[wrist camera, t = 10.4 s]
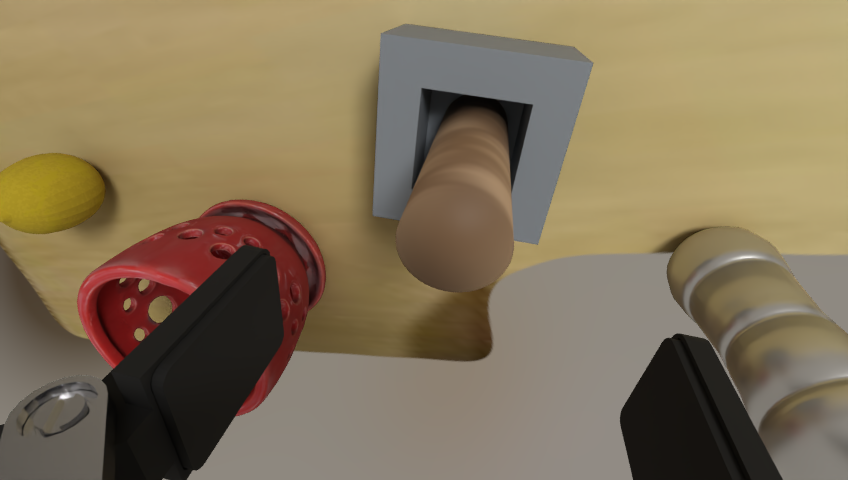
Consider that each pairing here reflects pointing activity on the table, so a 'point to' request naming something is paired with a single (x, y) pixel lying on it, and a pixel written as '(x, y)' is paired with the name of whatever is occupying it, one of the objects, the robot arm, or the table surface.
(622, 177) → the table surface
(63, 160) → the lemon
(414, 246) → the peg
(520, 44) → the socket
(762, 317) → the plastic bottle
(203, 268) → the plant pot
